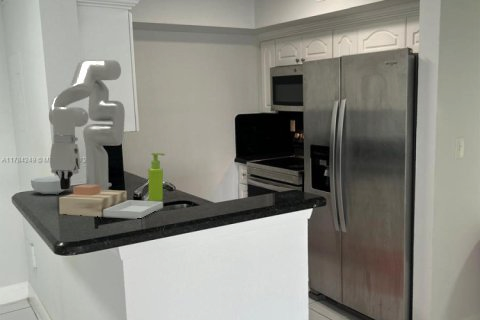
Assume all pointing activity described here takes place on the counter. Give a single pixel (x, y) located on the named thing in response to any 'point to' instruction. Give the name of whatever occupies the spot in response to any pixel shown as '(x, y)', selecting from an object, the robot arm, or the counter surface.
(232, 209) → the counter surface
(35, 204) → the counter surface
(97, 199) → the birch board
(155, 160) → the soap dispenser
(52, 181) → the cereal bowl
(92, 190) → the terracotta tile
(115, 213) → the box
